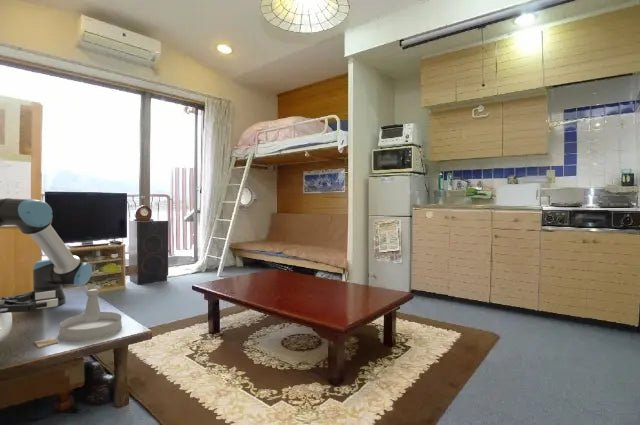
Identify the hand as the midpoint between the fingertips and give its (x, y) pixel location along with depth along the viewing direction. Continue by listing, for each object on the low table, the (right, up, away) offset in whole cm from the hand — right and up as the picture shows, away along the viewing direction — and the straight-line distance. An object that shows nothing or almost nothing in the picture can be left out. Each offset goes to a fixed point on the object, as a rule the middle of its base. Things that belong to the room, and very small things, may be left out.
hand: (56, 297), depth 137 cm
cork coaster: (+2, -15, -7) cm, 17 cm away
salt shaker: (+10, -11, +7) cm, 16 cm away
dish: (+10, -16, +7) cm, 20 cm away
